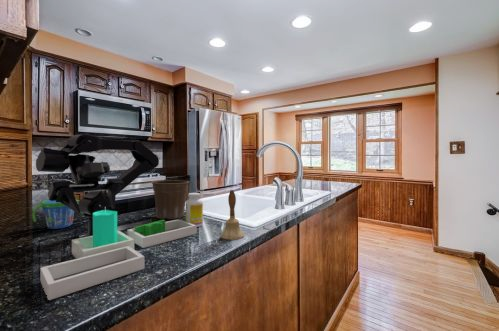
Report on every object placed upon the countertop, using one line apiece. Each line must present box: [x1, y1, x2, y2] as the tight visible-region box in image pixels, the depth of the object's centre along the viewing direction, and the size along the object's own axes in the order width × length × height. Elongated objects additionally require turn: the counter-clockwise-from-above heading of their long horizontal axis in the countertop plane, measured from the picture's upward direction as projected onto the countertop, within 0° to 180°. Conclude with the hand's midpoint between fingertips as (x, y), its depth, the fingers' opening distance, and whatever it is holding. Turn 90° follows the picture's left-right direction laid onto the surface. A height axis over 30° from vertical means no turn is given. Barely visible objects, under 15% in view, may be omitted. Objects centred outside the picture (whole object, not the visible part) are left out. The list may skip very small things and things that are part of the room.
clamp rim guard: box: [126, 218, 198, 249], centre depth 82 cm, size 12×19×3 cm, turn 137°
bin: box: [71, 230, 135, 259], centre depth 67 cm, size 12×12×4 cm
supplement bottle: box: [185, 192, 204, 228], centre depth 95 cm, size 7×7×13 cm
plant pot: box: [151, 179, 190, 220], centre depth 110 cm, size 16×16×16 cm
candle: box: [93, 207, 118, 248], centre depth 67 cm, size 6×6×12 cm
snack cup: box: [31, 199, 84, 230], centre depth 92 cm, size 16×10×10 cm
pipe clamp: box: [134, 219, 166, 236], centre depth 82 cm, size 11×4×5 cm, turn 148°
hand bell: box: [219, 189, 245, 241], centre depth 83 cm, size 8×8×16 cm
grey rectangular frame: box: [39, 246, 146, 301], centre depth 55 cm, size 10×18×3 cm, turn 137°
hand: (97, 210), depth 69 cm, fingers open, 9 cm apart
